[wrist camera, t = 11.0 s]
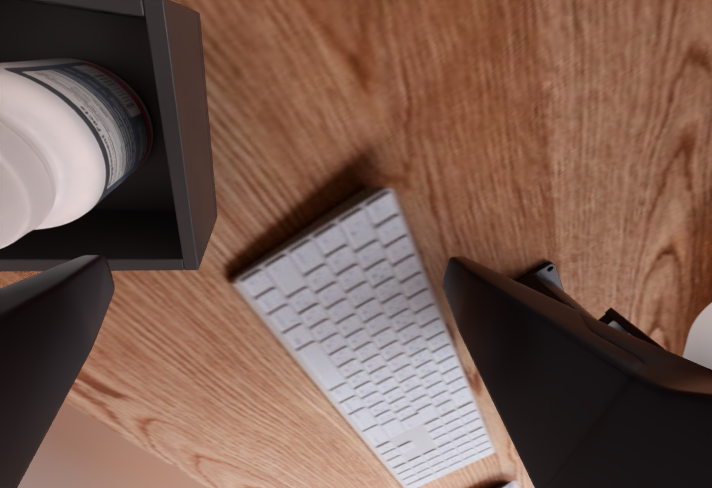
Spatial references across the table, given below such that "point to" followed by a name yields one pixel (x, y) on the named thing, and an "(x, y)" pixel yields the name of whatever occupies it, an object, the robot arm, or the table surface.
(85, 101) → the pill bottle
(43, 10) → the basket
